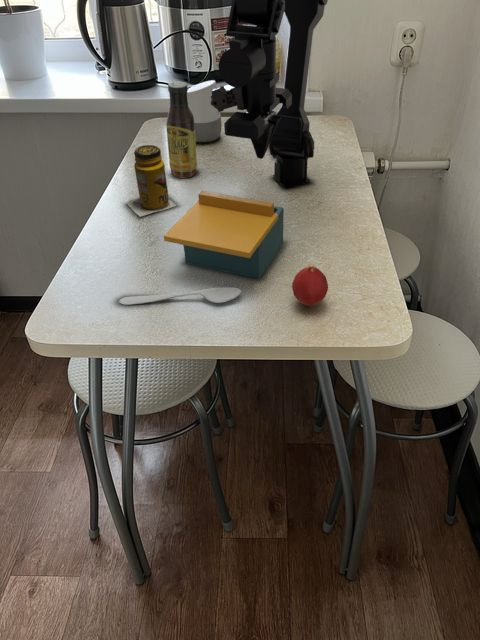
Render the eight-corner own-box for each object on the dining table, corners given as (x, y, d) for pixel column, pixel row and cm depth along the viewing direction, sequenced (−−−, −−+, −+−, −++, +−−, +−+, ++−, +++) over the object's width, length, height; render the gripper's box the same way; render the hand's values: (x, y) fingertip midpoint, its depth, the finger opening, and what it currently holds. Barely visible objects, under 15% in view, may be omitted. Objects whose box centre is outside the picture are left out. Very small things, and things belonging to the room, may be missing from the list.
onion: (289, 295, 99) (290, 255, 93) (323, 293, 99) (326, 253, 94) (294, 316, 94) (295, 275, 89) (329, 314, 95) (332, 273, 89)
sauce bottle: (166, 176, 134) (154, 86, 120) (178, 166, 138) (168, 77, 125) (191, 181, 132) (182, 90, 119) (203, 170, 136) (195, 80, 123)
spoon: (241, 305, 97) (241, 297, 96) (117, 309, 96) (115, 301, 95) (241, 291, 100) (240, 283, 99) (121, 294, 100) (119, 286, 98)
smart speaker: (196, 129, 155) (191, 74, 145) (228, 134, 152) (225, 77, 143) (180, 143, 148) (173, 85, 139) (212, 147, 146) (208, 89, 136)
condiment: (176, 206, 123) (169, 151, 115) (139, 217, 120) (130, 161, 112) (161, 193, 128) (153, 139, 120) (125, 203, 124) (115, 149, 116)
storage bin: (214, 230, 115) (211, 195, 110) (283, 243, 111) (283, 207, 106) (185, 263, 107) (181, 226, 101) (259, 278, 102) (258, 241, 97)
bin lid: (199, 204, 107) (197, 189, 105) (278, 218, 103) (278, 203, 101) (164, 241, 98) (161, 225, 96) (249, 258, 94) (249, 242, 92)
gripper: (236, 51, 108) (240, 134, 118) (192, 81, 95) (200, 171, 105) (293, 56, 105) (291, 141, 115) (255, 88, 92) (257, 180, 102)
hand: (260, 157), depth 110 cm, fingers closed
